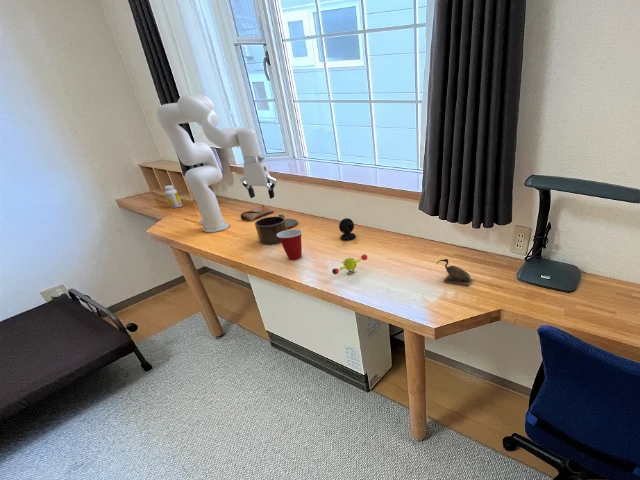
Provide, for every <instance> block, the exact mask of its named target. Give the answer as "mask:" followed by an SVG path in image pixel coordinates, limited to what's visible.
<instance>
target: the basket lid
mask: <svg viewBox="0 0 640 480" xmlns="http://www.w3.org/2000/svg"><path fill="white" fill-rule="evenodd" d="M277 217H283V218H284V219H285V222H286V226H287V229H292V228H293V227H295V226H297V225H298V223H299V222H298V220H297V219H294V218H286V216H285V213H284V212H278V214H277Z"/></svg>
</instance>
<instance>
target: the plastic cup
mask: <svg viewBox="0 0 640 480" xmlns="http://www.w3.org/2000/svg"><path fill="white" fill-rule="evenodd" d="M302 235H303V230H302V229H298V228H296V229H295V228H293V229H292V228H291V229H287V230H285V231H282V232H279V233H277V235H276V236H277V237H278V238H279V240H280V242H281V243H280V244H281V246H282V248H283V251H284V252H285V254H286V256H287V258H288V260H290V261H296V260H299V259H301V258H302V256H303V254H302V248H303V247H302Z"/></svg>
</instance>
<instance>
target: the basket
mask: <svg viewBox="0 0 640 480" xmlns="http://www.w3.org/2000/svg"><path fill="white" fill-rule="evenodd" d="M285 219H286V218H285ZM285 219H284V218H283V217H279V216H278V215H277V216H275V215H274V216H266V217H262V218H259V219H257V220H256V221H255V222H254V226H255V229H256V233H257V237H258V240H259V243H260V244H261V245H264V246H275V245H279V244H281V242H280V240H279V238H278V237H277V236H276V235H277V233H279V232H282V231H285V230H288V228H287V226H286V222H285ZM275 224H276V225H275Z"/></svg>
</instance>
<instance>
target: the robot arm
mask: <svg viewBox="0 0 640 480" xmlns="http://www.w3.org/2000/svg"><path fill="white" fill-rule="evenodd" d="M156 118H157V121H158V123H159V125H160V127H161V128H162V130H163V131H164V132H165V134H166V135H167V137H168V138H169V140H170V142H171V145H172V147H173V149H174V152H175V153H176V155H177V157H178V159H179V161H180V162H181V163H182V164H183V165H184V166H195V165H200V164H202V165H201V166H196V167H193V168H190V169H188V170H187V171H186V172H185V174H184V180H185V181H186V183H187V185H188V186H189V188H190V191H191V193H192V194H193V197H194V199H195V202H196V205H197V208H198V210H199V213H200V215H201V218H202V219H201V220H200V219H199V221H198V226H202V230H203V232H204V233H218V232H222V231H224V230H227V229H228V228H229V226H230V225H229V223H228V222H225V219H224V216H223V214H222V211H221V208H220V205H219V202H218V198H217V196H216V193H215V192H214V191H213V190H212V189H210V188H209V187H210V186H212V185H216V184H219V183H220V182H222V181H223V172H222V170H221V168H220V165H219V162H218V161H217V158H216V156H215V154H214V151H213V150H212V148H211V146H210V145H208V144H207V143H206V142H203V141H198V142H197V141H196V142H194V141H192V139H191V136H190V134H189V132H188V131H187V130H186V129H184V128H183V126H181V124H190V123H197V124H198V125H199V126H200V127H201V128H202V132H203V134H204V135H205V137H206V139H207V140H208V141H209V142H211V143H212V144H214V145H215V146H217V147H219V148H220V149H225V150H227V149H228V150H229V149H232V148H235V147H240V151H241V155H242V158H243V174H244V176H243V177H241V178H240V179H239V181H240V183H241V184H242V186H243V187H244V188H245V189H246V190H247V192H248V196H249V198H250V199H253V198H255V196H256V193H255V191H254V187H266V188H267V192H268V196H269V199H273V198H275V192H274V188H275V187H276V185H277V179H276V178H274V177H272V176H271V175H270V172H269V169H268V166H267V164H266V162H265V157H264V156H262V154H261V150H260V145H259V141H258V137H257V133H256V131H255V130H254V129H253V128H244V127H240V126H235V127H228V128H223V129H219V128H218V127H217V126H218V123H219V117H218V114H217V113H216V112H215V106H214V103H213V101H212V100H211V99H210V98H209V97H208V96H207V95H205V94H201V93H200V94H188V95H183V96H180V97H179V98H178V100H177V101H176V102H172V103H171V102H170V103H164V104H161V105H159V106H158V107H157V108H156Z"/></svg>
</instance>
